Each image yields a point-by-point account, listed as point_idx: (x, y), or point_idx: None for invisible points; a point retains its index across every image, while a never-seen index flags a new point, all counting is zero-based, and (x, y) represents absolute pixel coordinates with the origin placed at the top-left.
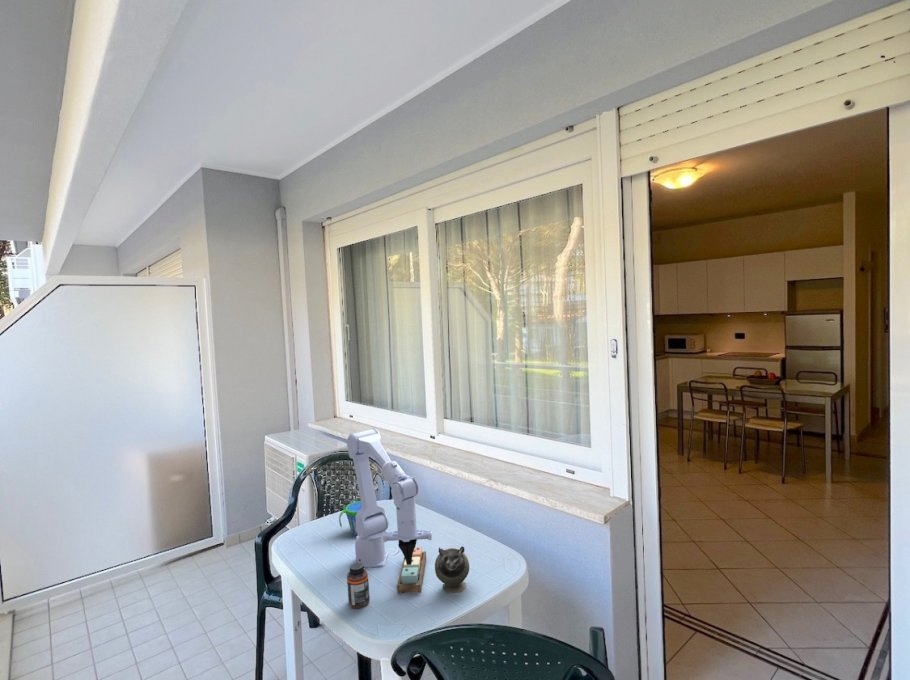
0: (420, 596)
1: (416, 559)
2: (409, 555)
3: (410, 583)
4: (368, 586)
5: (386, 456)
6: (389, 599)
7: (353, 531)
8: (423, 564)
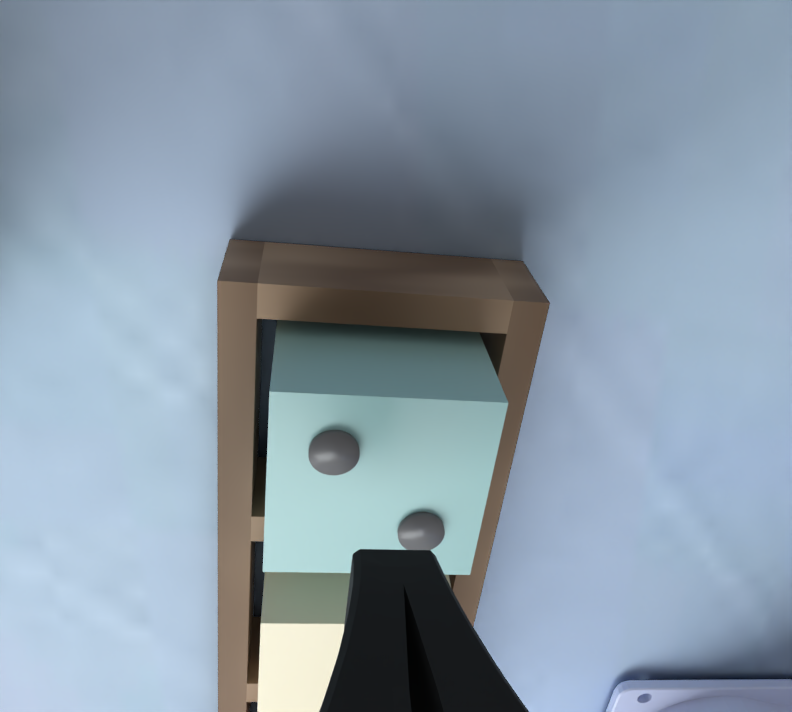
0: (231, 161)
1: (296, 707)
2: (390, 693)
3: (366, 339)
4: None
5: None
6: (627, 159)
7: None
8: (223, 656)
